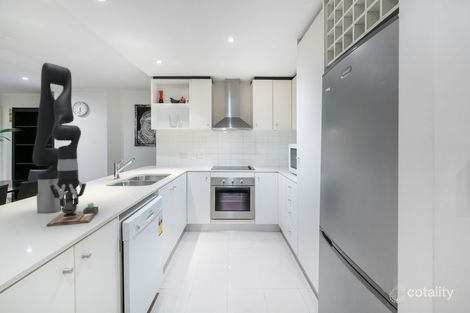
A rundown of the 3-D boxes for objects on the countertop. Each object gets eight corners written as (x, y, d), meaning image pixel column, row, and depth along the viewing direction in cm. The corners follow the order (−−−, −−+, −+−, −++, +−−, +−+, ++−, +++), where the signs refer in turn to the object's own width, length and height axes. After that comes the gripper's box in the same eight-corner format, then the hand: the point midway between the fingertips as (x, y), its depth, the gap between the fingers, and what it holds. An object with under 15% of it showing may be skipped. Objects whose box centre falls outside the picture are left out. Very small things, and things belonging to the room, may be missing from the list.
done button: (87, 210, 115) (86, 204, 115) (88, 209, 118) (88, 203, 118) (93, 210, 116) (92, 204, 116) (94, 208, 119) (94, 203, 118)
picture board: (46, 226, 99) (46, 219, 99) (62, 214, 116) (61, 208, 116) (89, 222, 105) (89, 216, 105) (98, 211, 122) (98, 205, 122)
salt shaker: (60, 217, 102) (59, 191, 102) (63, 214, 108) (62, 188, 107) (76, 216, 105) (75, 190, 104) (78, 212, 110) (77, 187, 110)
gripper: (88, 167, 111) (89, 202, 112) (52, 168, 106) (54, 205, 107) (83, 169, 104) (85, 206, 105) (45, 170, 99) (47, 209, 100)
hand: (69, 205), depth 106 cm, fingers closed on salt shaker, 4 cm apart
